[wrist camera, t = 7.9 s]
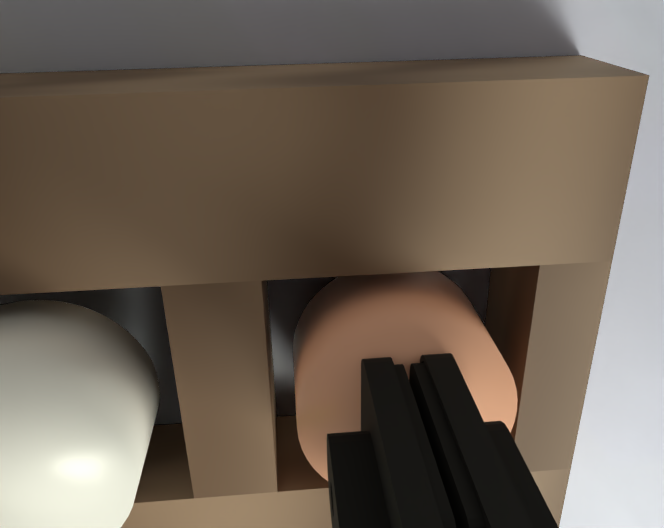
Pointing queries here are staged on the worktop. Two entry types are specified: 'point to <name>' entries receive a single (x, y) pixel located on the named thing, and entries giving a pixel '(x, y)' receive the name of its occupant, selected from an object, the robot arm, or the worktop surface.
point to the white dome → (71, 416)
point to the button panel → (320, 234)
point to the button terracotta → (387, 349)
